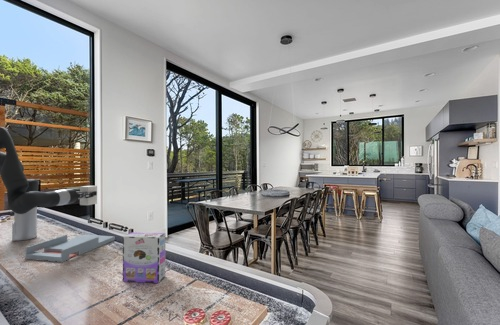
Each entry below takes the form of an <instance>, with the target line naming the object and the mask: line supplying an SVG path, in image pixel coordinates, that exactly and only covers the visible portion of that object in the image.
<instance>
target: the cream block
mask: <svg viewBox="0 0 500 325" xmlns="http://www.w3.org/2000/svg"><path fill="white" fill-rule="evenodd" d="M79 191H80V192H84V191H86V192H94V191H97V192H98V185H82V186H81V185H80V187H79ZM84 195H85V193H84ZM96 204H98V194H97V195H95V196H94V197H90V198H82V199H79V205H80V206H92V205H96Z"/></svg>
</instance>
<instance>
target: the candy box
mask: <svg viewBox="0 0 500 325" xmlns="http://www.w3.org/2000/svg"><path fill="white" fill-rule="evenodd" d="M165 277H166V232H164V233H163V232H137V231H136V232H133V231H132V232H129V233H128V234H126V235H123V236H122V282H126V283H129V282H130V283H144V284H145V283H147V284H149V283H151V284H159V283H160V282H161V281H162V280H163V279H164V278H165Z"/></svg>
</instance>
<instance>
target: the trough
mask: <svg viewBox="0 0 500 325" xmlns="http://www.w3.org/2000/svg"><path fill="white" fill-rule="evenodd" d="M115 240H116V239H115V236H114V235H113V236H112V235H99V234H98V235H97V234H85V233H84V234H81V235H78V236H75V237H72V238H70V239H68V234H65V235H61V236H58V237H54V238H51V239H47V240H44V241H41V242H38V243H35V244H32V245H28V246H25V250H24V251H25V252H24V257H25V258H24V259H27V260H37V261H44V260H48V261H47V262H55V261H57V262H56V263H64V262H66V260H67V261H69V260H70V259H71V257H72V258H75V257H77V256H81V255H83V254H85V253H88V252H90V251H92V250H95V249H97V248H100V247H101V246H105V245H107V244H109V243H111V242H114V241H115ZM41 250H43V251H41ZM39 251H40V252H39ZM76 255H77V256H76Z"/></svg>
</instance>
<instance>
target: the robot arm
mask: <svg viewBox="0 0 500 325" xmlns="http://www.w3.org/2000/svg"><path fill="white" fill-rule="evenodd" d="M2 149H5V152H4V151H0V179H1V180H2V182H3V184H4V187H5V189H6V195H7V203H8V207H9V209H10V210H11V211H12V212H13V214H14V217H13V218H14V220H13V222H12V224H11V226H12V228H11V241H13V242H14V241H27V240H32V239H36V238H37V233H38V232H37V230H38V229H37V228H38V227H37V226H38V224H37V223H38V207H40V208H51V207H55V206H56V207H57V206H64V205H71V204H74V203H76V202H77V200H80V199H82V198H90V197H94V196H95V195H97V196H98V190H97V191H94V192H86V191H84V192H80V190H75V189H74V188H66V189H58V190H53V191H46V192H45V191H39V182H38V180H37V179H35V178H27V176H26V175H25V173H24V170H25V167H24V164H22V162H21V160H20V159H19V155H18V152H17V150H16V146H15V144H14V140H13V138H12V136H11V134H10V132H9V130H8V129H7V128H5V127H4V126H0V150H2ZM84 193H85V195H84Z"/></svg>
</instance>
